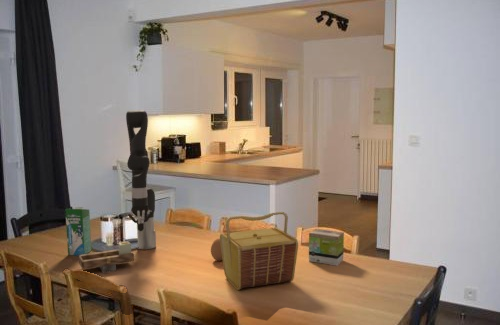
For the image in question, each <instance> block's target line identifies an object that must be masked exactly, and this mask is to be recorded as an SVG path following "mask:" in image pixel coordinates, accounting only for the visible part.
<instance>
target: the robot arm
mask: <svg viewBox="0 0 500 325" xmlns="http://www.w3.org/2000/svg"><path fill="white" fill-rule="evenodd" d="M125 115H126V116H125V119H126V128H127V135H128V139H129V140H128V141H129V157H128V159H127V165H126V166H127V168H128V169H129V170H130V171H131V176H132V177H131V209H130V211H129V212H127V213H126V215H127V216H128V217H129V218H130V220H132V223H133V222H134V224H136V229H137V230H136V232H137V233H136V234H137V247H138V246H139V248H138V250H151V249H152V250H153V249H155V248H157V241H156V240H157V239H156V238H157V237H156V236H157V235H156V232H157V231H156V230H155V211H156V210H155V209H156V194H155V191H154V189H152V188H150V187H149V188H148V187H147V186H148V185H147V176H148V171H149V168H150V162H151V161H150V158H149V154H148V151H147V148H146V142H147V141H146V139H147V133H148V125H149V119H148V118H149V117H148V113H147V111H146V110H129V111H126V114H125ZM135 129H139V130H138V132H137V133H135ZM134 216H135V218H136V219H135V218H134Z"/></svg>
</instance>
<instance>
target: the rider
mask: <svg viewBox="0 0 500 325" xmlns="http://www.w3.org/2000/svg"><path fill="white" fill-rule="evenodd" d="M117 245H118V249H119V255H122V254H128V253H132V244H131V242H130V241H120V242H118V243H117Z"/></svg>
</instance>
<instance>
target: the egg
mask: <svg viewBox="0 0 500 325" xmlns="http://www.w3.org/2000/svg"><path fill="white" fill-rule="evenodd" d="M210 255H211V257H212V259H214V260H215V261H218V262H221V261H223V259H222V251H221V243H220V238H216V239H215V240H214V241H213V242H212V244H211V246H210Z"/></svg>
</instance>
